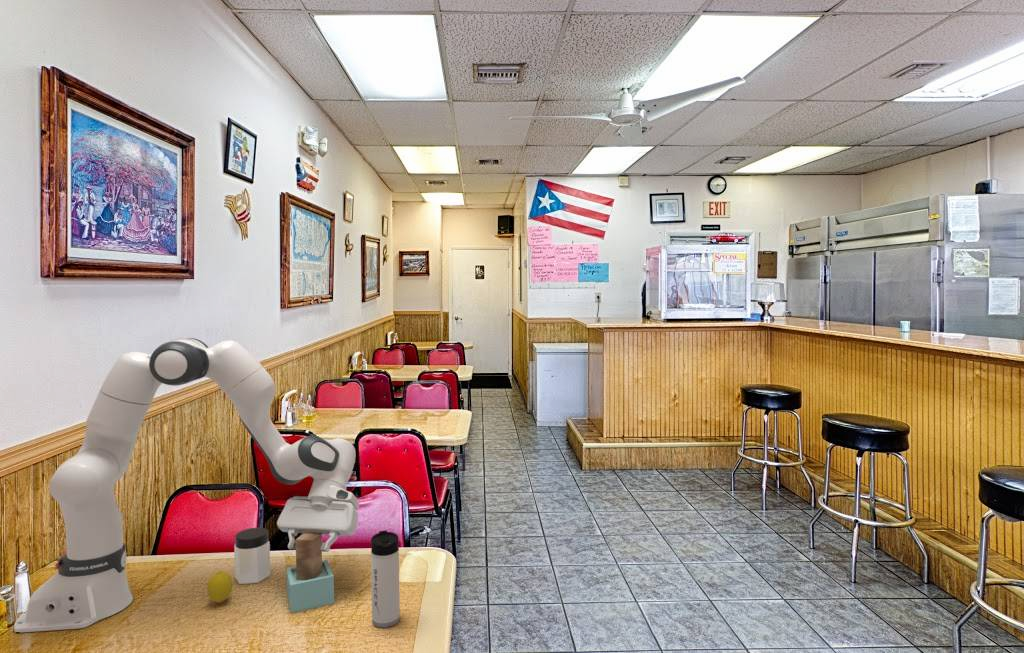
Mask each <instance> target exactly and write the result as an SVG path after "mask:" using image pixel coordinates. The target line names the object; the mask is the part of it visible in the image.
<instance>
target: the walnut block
mask: <svg viewBox="0 0 1024 653" xmlns="http://www.w3.org/2000/svg"><path fill="white" fill-rule="evenodd" d="M322 535H323V534H322V533H310V532H305V533H301V535H299V537H297V538H295V541H296V549H295V566H296V579H298V580H309V579H314V578H317V577H318V576H319V575H320V574H321V573H322V561H323V552H322V551H321V546H322V543H323V538H322Z"/></svg>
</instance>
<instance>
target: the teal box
mask: <svg viewBox="0 0 1024 653" xmlns="http://www.w3.org/2000/svg"><path fill="white" fill-rule="evenodd" d="M285 569H286V573H285V574H286V597H287V602H288V605H289V606H290V607H289V606H288V607H289V610H290V611H291V612H290V614H294V613H298V611H299V612H302V610H303V611H307V610H312V609H316V608H318V607H325V606H328V604H329V605H332V604H331V603H333V604H335V576H334V573H333V571H332V569H331V565H330V563H329V561H328V559H325V560H322V573H321V574H320V575H319V576H318V577H317V578H314V579H309V580H298V579H296V565H294V566H290V567H285ZM311 608H312V609H311Z"/></svg>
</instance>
